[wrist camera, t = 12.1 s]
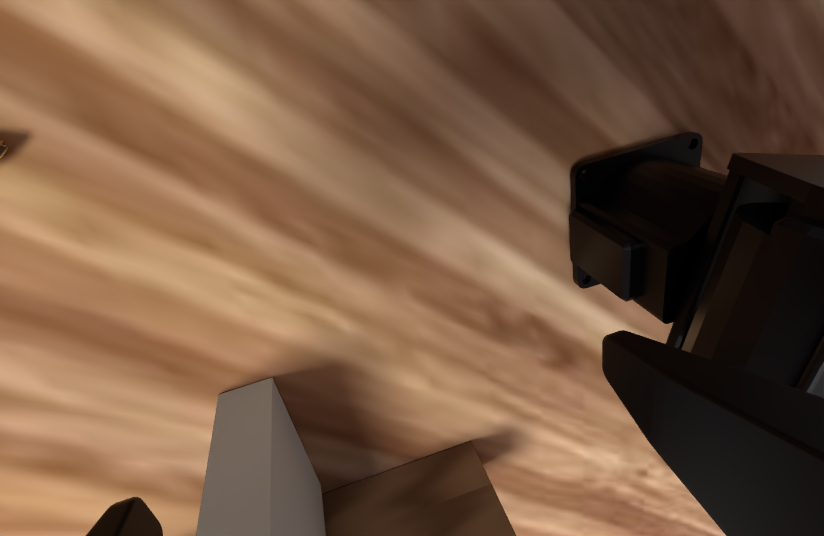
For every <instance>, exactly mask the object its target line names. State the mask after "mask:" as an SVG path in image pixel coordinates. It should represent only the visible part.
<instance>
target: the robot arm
mask: <svg viewBox="0 0 824 536" xmlns="http://www.w3.org/2000/svg"><path fill="white" fill-rule="evenodd" d="M690 141H691V144H690V145H689V142H690ZM702 142H703V140H702V136H701V135H700V134H699V133H695V132H685V133H681V134H678V135H674V136H671V137H667V138H664V139H660V140H657V141H653V142H650V143H646V144H643V145H639V146H636V147H632V148H629V149H625V150H622V151H618V152H615V153H611V154H608V155H604V156H601V157H597V158H593V159H590V160H586V161H583V162H580V163H578V164H576V165H575V166H574V167H573V169H572V171H571V175H570V182H571V213H570V215H569V228H570V258H571V261H572V262H573V279H574V282H575V283H576V284H577V285H578V286H579V287H580V288H583V289H584V288H589V287H592V286H595V285H598V284H602V285H604V286H605V287H606V288H607V289H609V290H610V291H611V292H613V293H614V294H615V295H617V296H618V297H619V298H621V299H622V300H624V301H626V302H627V301H630V300H634V301H635V302H636V303H638V304H639V305H640V306H642V307H643V308H644V309H646V310H647V311H648V312H650V313H651V314H652V315H654V316H655V317H656V318H658V319H659V320H660V321H662V322H663V323H665V324H669V323H672V322H673V325H672V328H671V331H670V333H669V336H668V339H667V341H666V344H664V343H661V342H658V341H655V340H652V339H649V338H646V337H643V336H640V335H637V334H634V333H631V332H628V331H624V330H622V331H618V332H615V333H612V334H609V335H606V336H605V337H604V339H603V342H602V368H603V372H604V375H605V377H606V379H607V380H608V382H609V383H610V385H611V386H612V388H613V389H614V391H615V392H616V394H617V395H618V397H619V398H620V400H621V401H622V403H623V404H624V406H625V407H626V409H627V410H628V412H629V413H630V415H631V416H632V418H633V419H634V421H635V422H636V424H637V425H638V427H639V428H640V430H641V431H642V433H643V434H644V435H645V437H646V438H647V440H648V441H649V442H650V444H651V445H652V446H653V448H654V449H655V450H656V451H657V453H658V454H659V455H660V456H661V457H662V459H663V460H664V461H665V462H666V463H667V465H668V466H669V467H670V468H671V470H672V471H673V472H674V473H675V474H676V476H677V477H678V478H679V479H680V480H681V482H682V483H683V484H684V485H685V486H686V488H687V489H688V490H689V491H690V492H691V494H692V495H693V496H694V497H695V498H696V500H697V501H698V502H699V503H700V504H701V506H702V507H703V508H704V509H705V510H706V512H707V513H708V514H709V515H710V517H711V518H712V519H713V520H714V521H715V523H716V524H717V525H718V526H719V527H720V529H721V530H722V531H723V532H724V533H725V535H726V536H824V155H793V154H759V153H733V154H732V156H731V159H730V162H729V165H728V167H727V169H729V170H730V171H729V174H728V176H726V175H723V174H720V173H717V172H714V171H710V170H707V169H704V168H701V167H700V160H701V151H702ZM688 145H689V146H688ZM584 170H585V171H586V172H585V175H584V176H583V177H582V178H580V175H581V173H582V171H584ZM586 275H587V276H586ZM585 276H586V278H585V279H584V280H583V278H584V277H585ZM86 536H163V531H162V527H161V525H160V523H159V521H158V520H157V518H156V517H155V516H154V514H153V513H152V512H151V510H150V509H149V508H148V507H147V505H146V504H145V503H144V501H143V500H142V499H141V498H139V497H132V498H129V499H126V500H123V501H120V502H117V503H115V504H113V505H111V506H110V507H109V508H108V509H107V510H106V512H105V513H104V514H103V515H102V517H101V518H100V519H99V520H98V521H97V523H96V524H95V525H94V526H93V528H92V529H91V530H90V531H89V532H88V534H87V535H86Z"/></svg>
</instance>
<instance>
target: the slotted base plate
mask: <svg viewBox="0 0 824 536" xmlns="http://www.w3.org/2000/svg"><path fill="white" fill-rule="evenodd" d="M322 502H323V512H324V522H325V532H326V536H516V534H515V532H514V530H513V528H512V526H511V524H510V522H509V520H508V517H507V515H506V513H505V511H504V509H503V507H502V505H501V503H500V501H499V499H498V497H497V494H496V492H495V490H494V488H493V486H492V484H491V482H490V480H489V478H488V476H487V474H486V471H485V469H484V467H483V465H482V463H481V461H480V459H479V457H478V455H477V453H476V451H475V448H474V446H473V444H472V442H471V441H469V442H467V443H464V444H461V445H458V446H456V447H453V448H450V449H447V450H444V451H442V452H439V453H436V454H433V455H431V456H428V457H425V458H422V459H419V460H417V461H414V462H411V463H408V464H406V465H403V466H400V467H397V468H394V469H392V470H389V471H386V472H383V473H380V474H378V475H375V476H372V477H369V478H367V479H364V480H361V481H358V482H355V483H353V484H350V485H347V486H344V487H342V488H339V489H336V490H333V491H330V492H328V493H325V494H322Z"/></svg>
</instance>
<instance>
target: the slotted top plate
mask: <svg viewBox="0 0 824 536" xmlns="http://www.w3.org/2000/svg"><path fill="white" fill-rule="evenodd" d="M196 536H326V532H325V522H324V512H323V502H322V491H321V484H320V482H319V480H318V478H317V475H316V473H315V471H314V469H313V467H312V464H311V462H310V460H309V458H308V456H307V453H306V451H305V449H304V447H303V444H302V442H301V440H300V438H299V436H298V433H297V431H296V429H295V427H294V425H293V422H292V420H291V418H290V416H289V414H288V411H287V409H286V407H285V405H284V403H283V400H282V398H281V396H280V394H279V392H278V389H277V387H276V385H275V383H274V380H273V378H269V379H265V380H262V381H259V382H256V383H253V384H250V385H247V386H244V387H241V388H237V389H234V390H231V391H228V392H225V393H222V394H219V395H218V402H217V408H216V414H215V420H214V426H213V433H212V439H211V445H210V451H209V457H208V463H207V470H206V476H205V482H204V488H203V494H202V501H201V507H200V513H199V519H198V525H197V531H196Z"/></svg>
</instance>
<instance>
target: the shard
mask: <svg viewBox="0 0 824 536" xmlns="http://www.w3.org/2000/svg"><path fill="white" fill-rule="evenodd" d="M3 142H4V141H2V140H0V158H2V157H3V155H4V154H5V152H6V151H7V149H8V148H9V147H7V146H6V145H2V144H3Z"/></svg>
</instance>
